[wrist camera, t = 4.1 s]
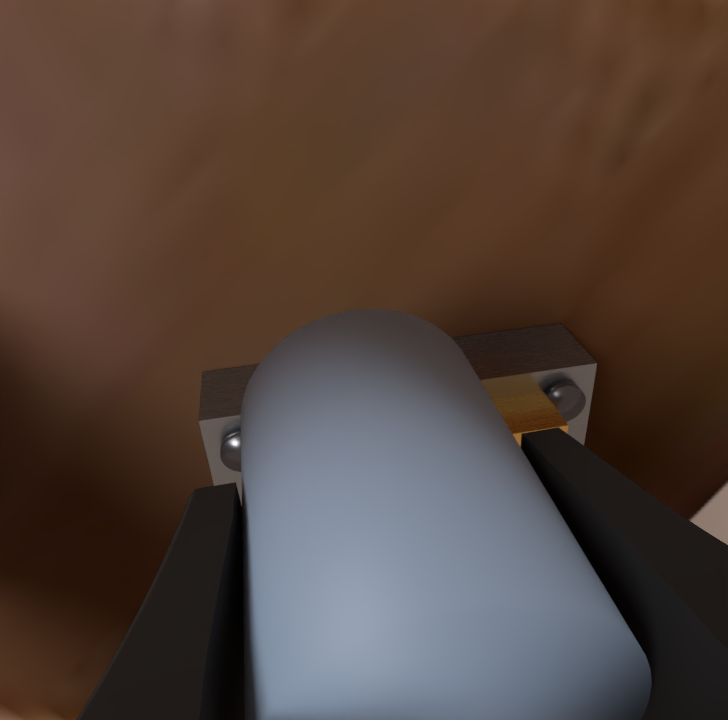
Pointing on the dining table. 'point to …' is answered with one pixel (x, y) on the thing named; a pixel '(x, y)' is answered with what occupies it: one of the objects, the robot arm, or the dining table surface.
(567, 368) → the grey square frame
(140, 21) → the dining table surface
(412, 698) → the blue-grey rounded cylinder
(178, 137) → the dining table surface
